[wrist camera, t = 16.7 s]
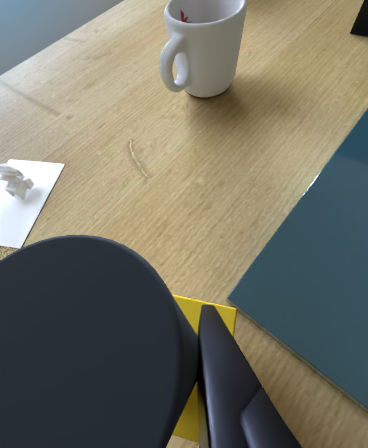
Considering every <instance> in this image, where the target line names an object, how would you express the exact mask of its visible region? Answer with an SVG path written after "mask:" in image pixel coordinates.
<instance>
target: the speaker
mask: <svg viewBox="0 0 368 448" xmlns="http://www.w3.org/2000/svg"><path fill="white" fill-rule="evenodd" d="M350 33H351V34H357V35H364V36H368V0H364V2H363V4H362V6H361V9H360V11H359V13H358V16H357V18H356V20H355V23H354V25H353V27H352V30H351V32H350Z"/></svg>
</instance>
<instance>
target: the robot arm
mask: <svg viewBox="0 0 368 448" xmlns="http://www.w3.org/2000/svg"><path fill="white" fill-rule="evenodd" d="M198 348H199V372H198V378H197V397H198V428H199V448H302V447H301V445H300V444H299V442H298V441H297V439H296V438H295V437H294V435H293V434H292V432H291V431H290V430H289V428H288V427H287V425H286V424H285V422H284V421H283V419H282V418H281V416H280V414H279V413H278V411H277V410H276V408H275V407H274V405H273V403H272V402H271V400H270V398H269V397H268V395H267V393H266V392H265V390H264V388H262V385H261V383H260V382H259V380H258V378H257V377H256V375H255V373H254V372H253V370H252V368H251V366H250V365H249V363H248V361H247V360H246V358H245V356H244V355H243V353H242V351H241V350H240V348H239V346H238V345H237V343H236V341H235V339H234V338H233V336H232V334H231V333H230V331H229V329H228V328H227V326H226V324H225V323H224V321H223V319H222V317H221V316H220V314H219V312H218V311H217V309H216V307H215V306H214V305H207V304H203V305H202V306H201V312H200V318H199V324H198Z"/></svg>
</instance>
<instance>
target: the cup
mask: <svg viewBox="0 0 368 448" xmlns="http://www.w3.org/2000/svg"><path fill="white" fill-rule="evenodd" d="M246 10H247V1H246V0H170V1H169V3H168V4H167V6H166V7H165V11H164V17H165V22H166V26H167V30H168V35H169V39H170V41H169V42H168V43H167V44H166V45H165V47H164V49H163V51H162V53H161V56H160V73H161V77H162V80H163V83H164V85H165V86H166V88H167V89H168V90H170V91H173V92H180V91H182V90H183V89H184V90H185V91H186V92H188V93H189V94H191V95H193V96H197V97H211V96H215V95H218V94H220V93H222V92H224V91H225V90H226V89H227V88H228V87H229V86H230V85H231V83H232V81H233V78H234V75H235V71H236V66H237V60H238V54H239V49H240V43H241V38H242V32H243V27H244V21H245V15H246ZM173 61H175V65H176V70H177V74H178V76H177V79H176V81H175V82H174V79H173V73H172V66H173Z"/></svg>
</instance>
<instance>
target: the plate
mask: <svg viewBox="0 0 368 448" xmlns="http://www.w3.org/2000/svg"><path fill="white" fill-rule="evenodd" d="M226 301H227V302H228V303H229V304H230V305H232V306H233V307H234V308H236V309H237V310H238V311H239V312H240V313H242V314H243V315H244V316H246V317H247V318H248V319H249V320H251V321H252V322H253V323H254V324H256V325H257V326H258V327H259V328H261V329H262V330H263V331H264V332H266V333H267V334H268V335H270V336H271V337H272V338H273V339H275V340H276V341H277V342H278V343H280V344H281V345H282V346H283V347H285V348H286V349H287V350H288V351H290V352H291V353H292V354H294V355H295V356H296V357H297V358H299V359H300V360H301V361H302V362H304V363H305V364H306V365H307V366H309V367H310V368H311V369H312V370H314V371H315V372H316V373H317V374H319V375H320V376H321V377H323V378H324V379H325V380H326V381H328V382H329V383H330V384H331V385H333V386H334V387H335V388H336V389H338V390H339V391H340V392H341V393H343V394H344V395H345V396H347V397H348V398H349V399H350V400H352V401H353V402H354V403H355V404H357V405H358V406H359V407H360V408H362V409H363V410H364V411H365V412H367V413H368V108H367V110H366V111H365V112H364V114H363V115H362V116H361V118H360V119H359V120H358V122H357V123H356V124H355V126H354V127H353V128H352V130H351V131H350V132H349V134H348V135H347V136H346V138H345V139H344V141H343V142H342V143H341V145H340V146H339V147H338V149H337V150H336V151H335V153H334V154H333V155H332V157H331V158H330V159H329V161H328V162H327V163H326V165H325V166H324V167H323V169H322V170H321V171H320V173H319V174H318V176H317V177H316V178H315V180H314V181H313V182H312V184H311V185H310V186H309V188H308V189H307V190H306V192H305V193H304V194H303V196H302V197H301V198H300V200H299V201H298V202H297V204H296V205H295V207H294V208H293V209H292V211H291V212H290V213H289V215H288V216H287V217H286V219H285V220H284V221H283V223H282V224H281V225H280V227H279V228H278V229H277V231H276V232H275V233H274V235H273V236H272V237H271V239H270V240H269V242H268V243H267V244H266V246H265V247H264V248H263V250H262V251H261V252H260V254H259V255H258V256H257V258H256V259H255V260H254V262H253V263H252V264H251V266H250V267H249V268H248V270H247V271H246V273H245V274H244V275H243V277H242V278H241V279H240V281H239V282H238V283H237V285H236V286H235V287H234V289H233V290H232V291H231V293H230V294H229V295H228V297H227V300H226Z"/></svg>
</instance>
